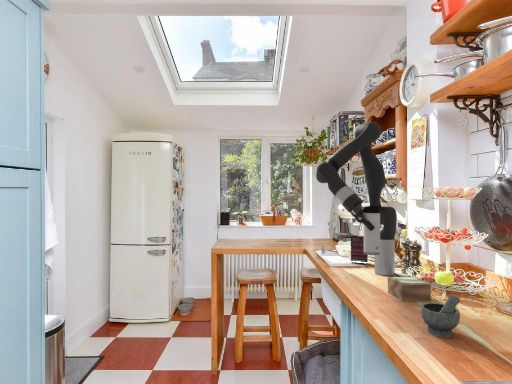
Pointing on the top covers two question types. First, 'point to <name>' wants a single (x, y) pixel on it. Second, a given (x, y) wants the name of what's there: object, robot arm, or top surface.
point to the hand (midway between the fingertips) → (376, 228)
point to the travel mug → (372, 236)
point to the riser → (409, 289)
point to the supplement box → (358, 248)
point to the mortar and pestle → (441, 316)
